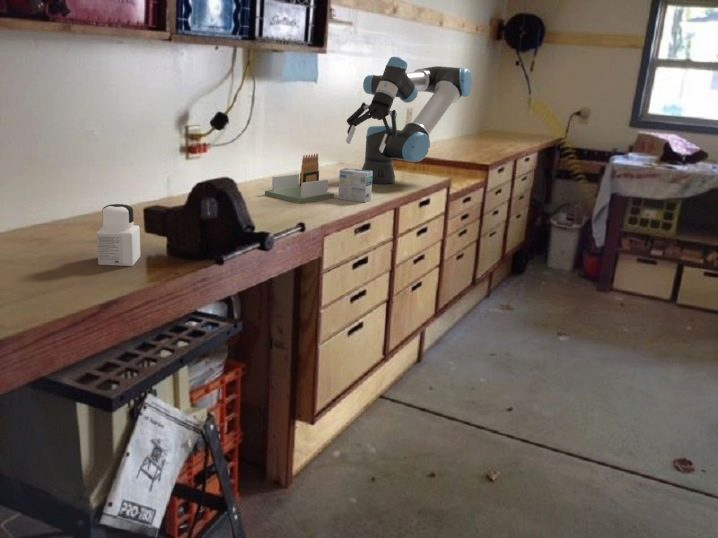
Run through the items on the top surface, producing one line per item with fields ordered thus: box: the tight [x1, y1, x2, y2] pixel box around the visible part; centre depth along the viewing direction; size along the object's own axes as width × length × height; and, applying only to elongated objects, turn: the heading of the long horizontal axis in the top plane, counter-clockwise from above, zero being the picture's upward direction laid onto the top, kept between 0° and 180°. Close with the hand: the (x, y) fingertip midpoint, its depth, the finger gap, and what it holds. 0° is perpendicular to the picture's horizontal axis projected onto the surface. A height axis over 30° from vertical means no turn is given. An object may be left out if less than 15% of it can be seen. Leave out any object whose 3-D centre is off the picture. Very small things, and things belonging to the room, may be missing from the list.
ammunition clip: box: [299, 153, 320, 186], centre depth 264 cm, size 11×2×12 cm, turn 149°
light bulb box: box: [337, 167, 373, 203], centre depth 242 cm, size 11×7×11 cm, turn 71°
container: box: [96, 203, 141, 267], centre depth 153 cm, size 8×8×13 cm
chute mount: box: [264, 173, 335, 204], centre depth 241 cm, size 18×17×6 cm
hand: (364, 146), depth 249 cm, fingers open, 13 cm apart
